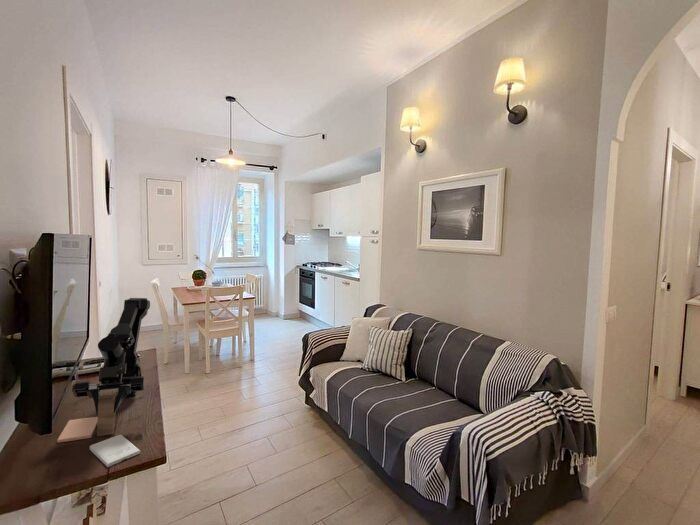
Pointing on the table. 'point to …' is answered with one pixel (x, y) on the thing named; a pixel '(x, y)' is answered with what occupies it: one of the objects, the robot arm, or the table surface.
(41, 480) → the table surface
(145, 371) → the table surface
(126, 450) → the external hard drive
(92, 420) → the terracotta mat
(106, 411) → the brown rectangular block
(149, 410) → the table surface
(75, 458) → the table surface
